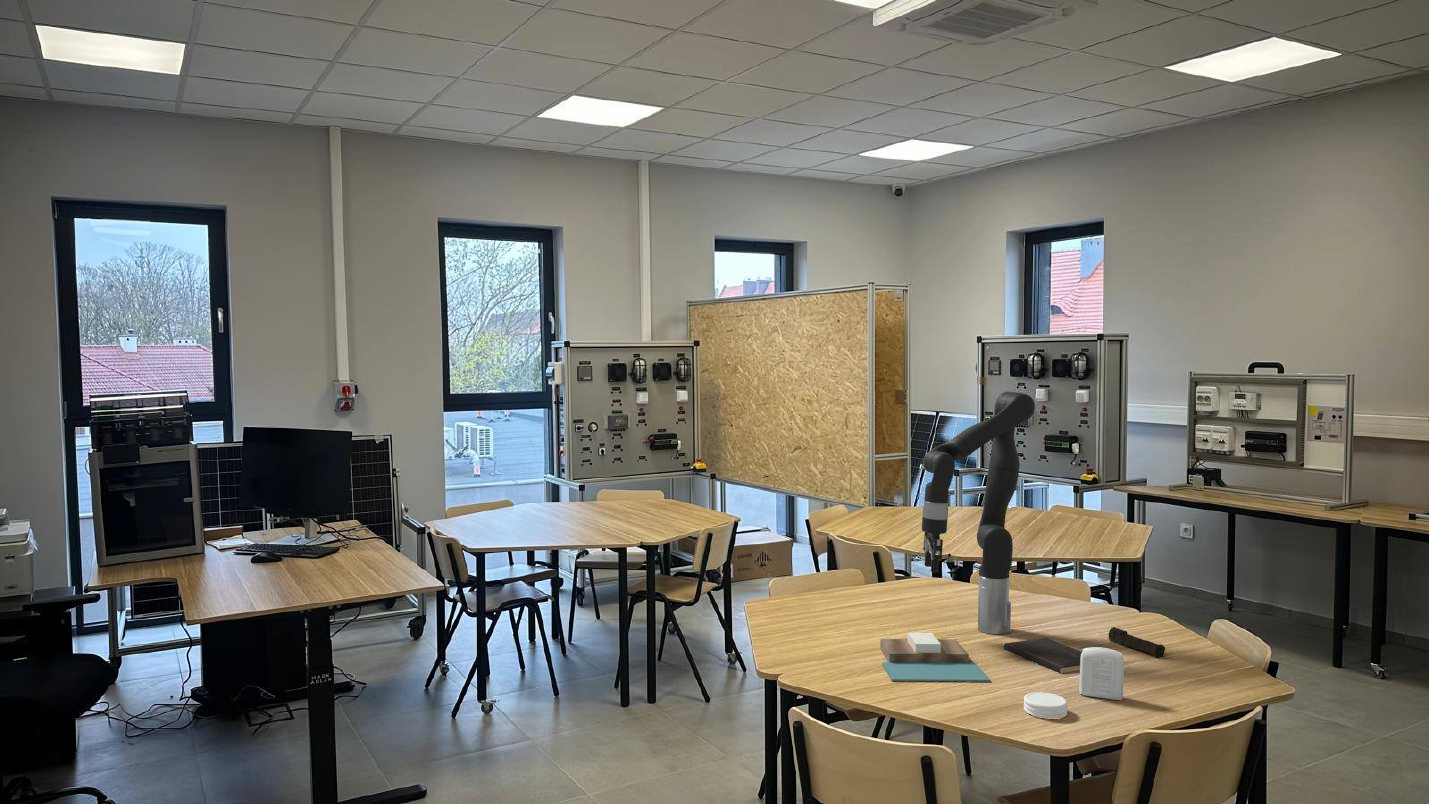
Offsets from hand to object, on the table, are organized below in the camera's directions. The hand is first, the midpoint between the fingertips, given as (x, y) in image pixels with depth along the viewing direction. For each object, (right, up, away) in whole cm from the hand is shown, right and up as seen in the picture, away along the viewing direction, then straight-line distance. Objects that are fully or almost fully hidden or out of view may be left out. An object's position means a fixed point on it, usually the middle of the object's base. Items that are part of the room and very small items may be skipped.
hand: (931, 569), depth 285 cm
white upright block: (+31, -24, -49) cm, 63 cm away
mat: (-7, -22, -32) cm, 40 cm away
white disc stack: (+14, -24, -60) cm, 66 cm away
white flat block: (-6, -19, -19) cm, 27 cm away
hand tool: (+57, -22, -9) cm, 62 cm away
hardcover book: (+30, -23, -18) cm, 42 cm away
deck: (-7, -22, -18) cm, 29 cm away
